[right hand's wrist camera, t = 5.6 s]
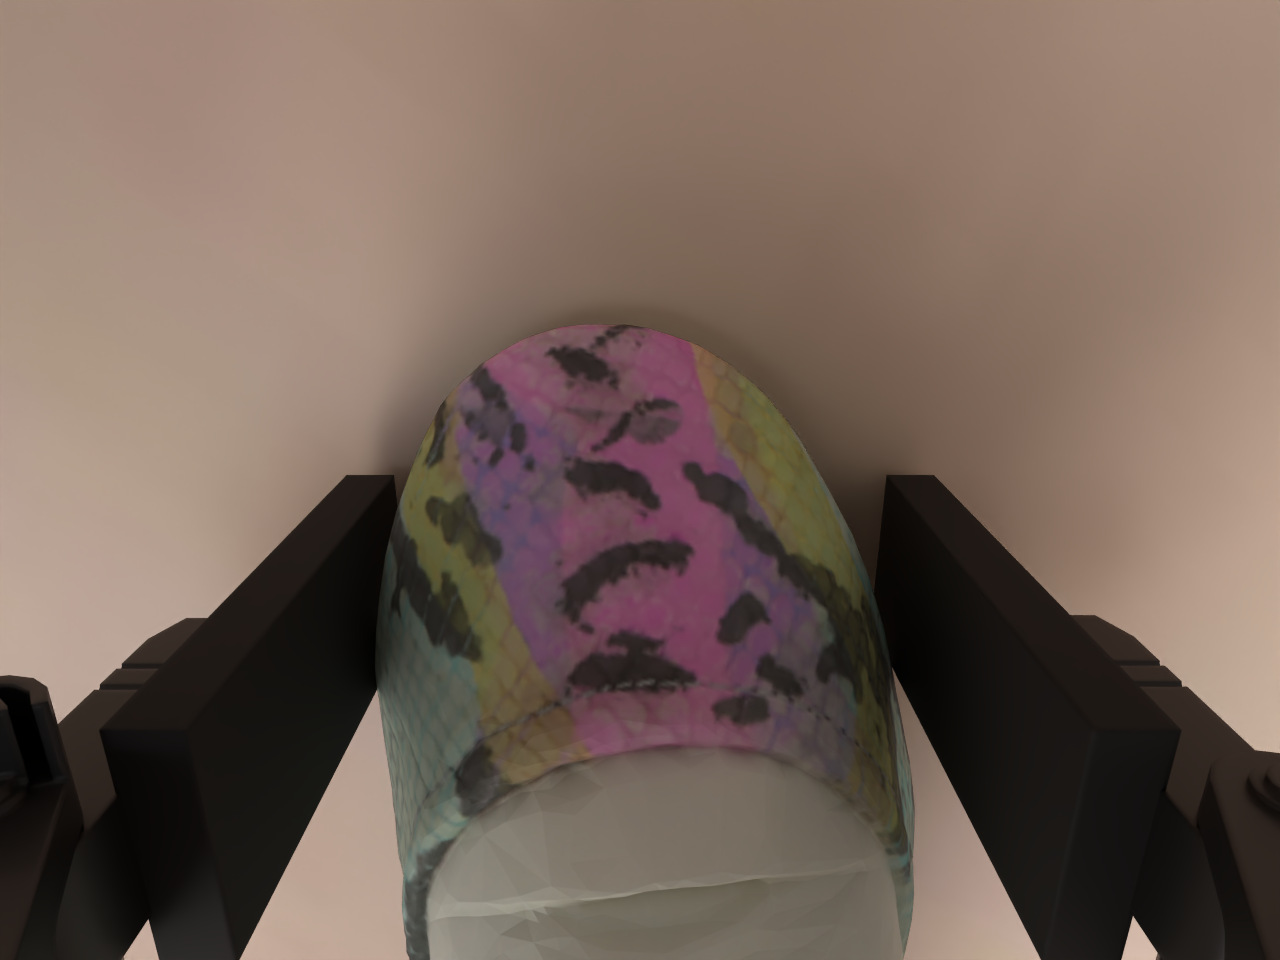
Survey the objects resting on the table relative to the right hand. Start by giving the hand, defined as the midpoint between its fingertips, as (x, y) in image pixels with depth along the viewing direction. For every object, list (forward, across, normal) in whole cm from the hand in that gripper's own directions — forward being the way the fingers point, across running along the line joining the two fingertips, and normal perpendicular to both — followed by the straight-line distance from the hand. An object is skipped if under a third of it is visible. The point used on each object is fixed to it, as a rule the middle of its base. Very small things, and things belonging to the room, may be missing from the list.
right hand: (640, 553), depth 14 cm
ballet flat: (0, 0, -8) cm, 8 cm away
